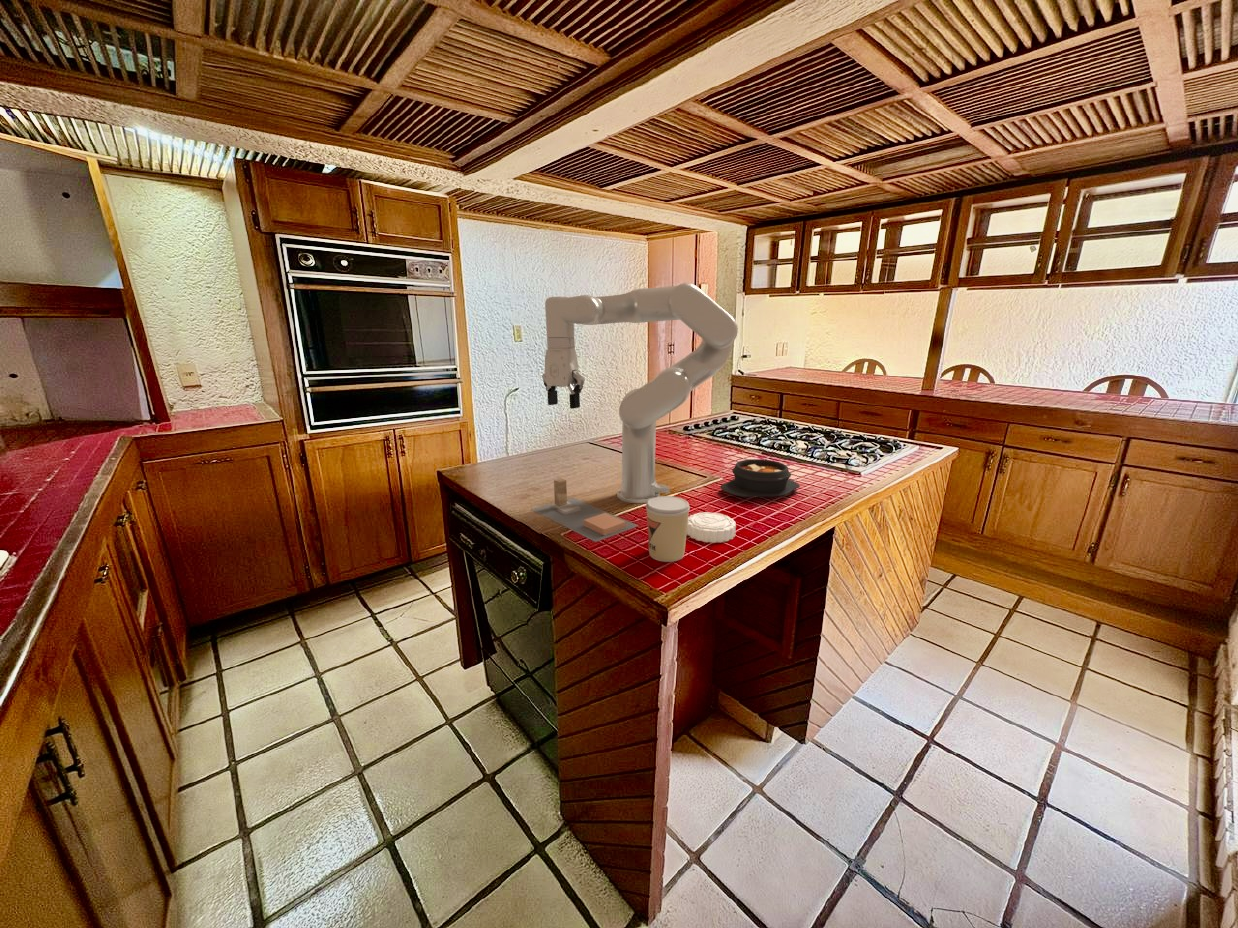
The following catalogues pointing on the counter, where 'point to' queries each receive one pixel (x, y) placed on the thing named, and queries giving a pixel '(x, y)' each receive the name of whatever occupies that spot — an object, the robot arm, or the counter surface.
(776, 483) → the casserole
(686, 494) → the counter surface
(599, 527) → the tile
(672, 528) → the coffee cup
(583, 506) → the mat
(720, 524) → the mooncake
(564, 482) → the wooden stand
